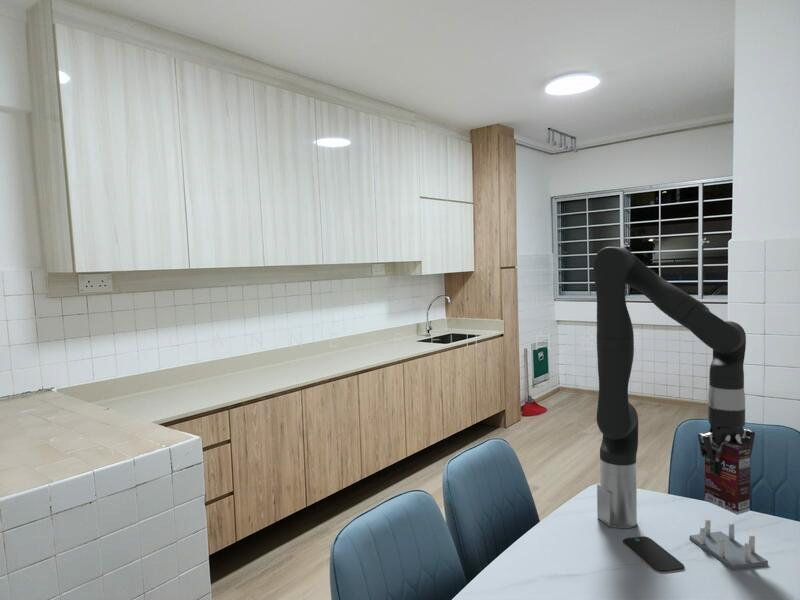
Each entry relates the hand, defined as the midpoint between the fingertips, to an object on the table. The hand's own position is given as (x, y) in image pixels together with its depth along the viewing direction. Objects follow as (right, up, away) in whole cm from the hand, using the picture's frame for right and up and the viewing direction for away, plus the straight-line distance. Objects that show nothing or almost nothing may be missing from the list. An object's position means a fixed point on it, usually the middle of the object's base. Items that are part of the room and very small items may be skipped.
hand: (726, 473), depth 125 cm
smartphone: (-17, -20, +1) cm, 27 cm away
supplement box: (0, -8, 0) cm, 8 cm away
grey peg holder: (+1, -19, +1) cm, 19 cm away
